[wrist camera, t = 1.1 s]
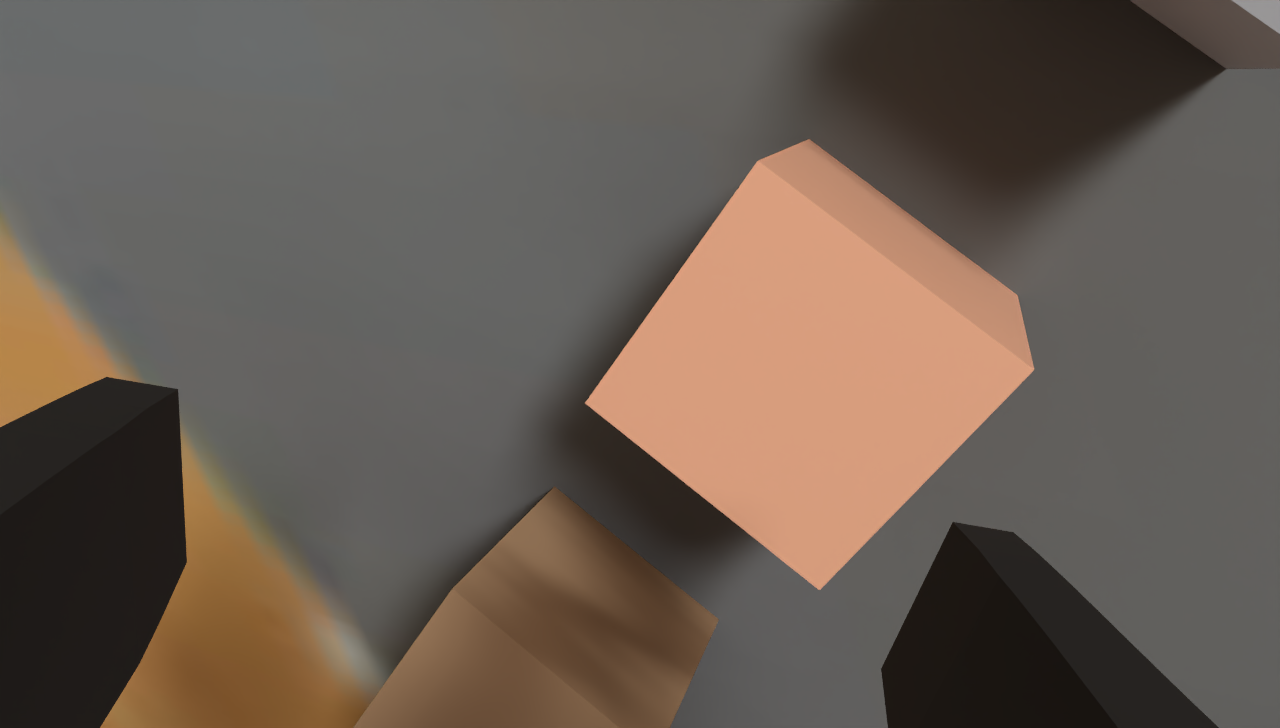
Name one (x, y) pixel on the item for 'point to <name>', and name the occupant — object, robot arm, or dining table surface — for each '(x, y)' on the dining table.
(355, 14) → the dining table surface
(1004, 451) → the dining table surface
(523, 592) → the walnut block
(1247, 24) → the slate block
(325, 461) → the dining table surface
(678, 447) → the terracotta block
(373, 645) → the dining table surface
